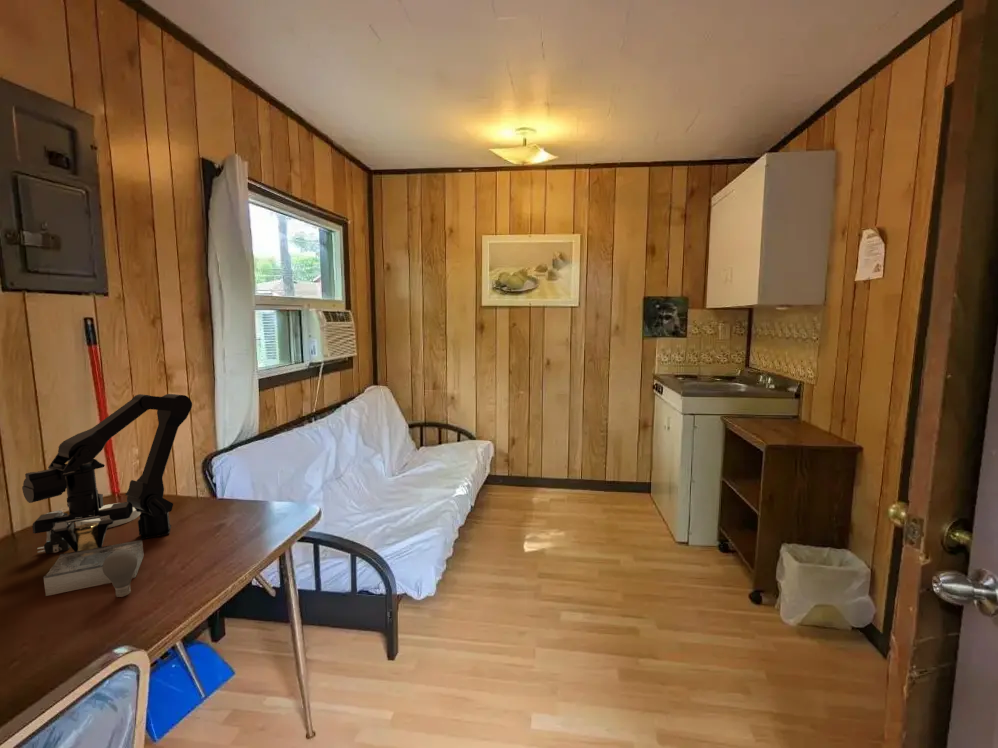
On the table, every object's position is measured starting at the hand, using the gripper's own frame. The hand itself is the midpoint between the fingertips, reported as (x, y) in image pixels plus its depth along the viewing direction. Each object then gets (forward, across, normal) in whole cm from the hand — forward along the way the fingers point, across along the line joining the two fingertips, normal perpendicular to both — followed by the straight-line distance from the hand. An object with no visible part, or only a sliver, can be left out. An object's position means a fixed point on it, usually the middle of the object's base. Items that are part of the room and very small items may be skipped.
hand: (88, 549), depth 128 cm
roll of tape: (+3, +1, -28) cm, 28 cm away
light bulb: (+2, -11, +26) cm, 28 cm away
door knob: (+2, 0, 0) cm, 2 cm away
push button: (+2, +9, -9) cm, 13 cm away
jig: (+2, -4, +12) cm, 13 cm away
